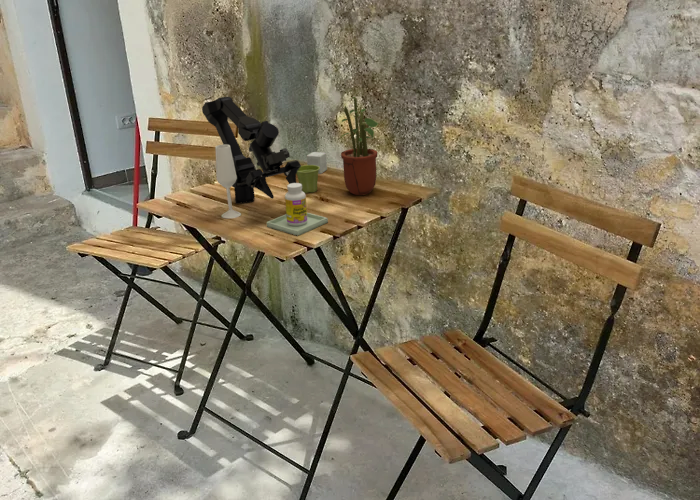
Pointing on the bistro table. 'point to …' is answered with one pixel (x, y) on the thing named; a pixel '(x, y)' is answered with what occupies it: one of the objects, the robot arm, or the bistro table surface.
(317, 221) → the tray
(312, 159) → the product box
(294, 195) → the supplement bottle
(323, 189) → the bistro table surface
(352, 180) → the potted plant
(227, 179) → the champagne flute
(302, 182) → the plant pot
